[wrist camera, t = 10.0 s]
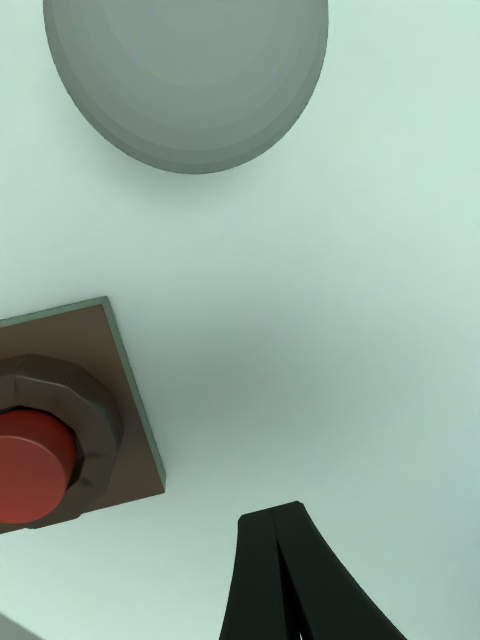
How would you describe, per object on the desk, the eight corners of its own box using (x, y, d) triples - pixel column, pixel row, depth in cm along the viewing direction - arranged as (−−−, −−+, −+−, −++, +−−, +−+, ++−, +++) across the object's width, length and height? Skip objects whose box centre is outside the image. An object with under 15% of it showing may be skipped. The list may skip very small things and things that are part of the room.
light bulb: (93, 140, 16) (-41, 102, 7) (134, -30, 15) (34, -389, 5) (236, 192, 17) (296, 222, 8) (287, 38, 16) (437, -155, 6)
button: (90, 477, 17) (79, 510, 16) (-2, 500, 17) (-21, 535, 16) (58, 398, 16) (43, 424, 15) (-41, 422, 16) (-67, 451, 14)
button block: (166, 475, 21) (163, 524, 18) (-4, 518, 21) (-34, 573, 18) (107, 294, 18) (92, 319, 15) (-93, 342, 18) (-147, 375, 15)
